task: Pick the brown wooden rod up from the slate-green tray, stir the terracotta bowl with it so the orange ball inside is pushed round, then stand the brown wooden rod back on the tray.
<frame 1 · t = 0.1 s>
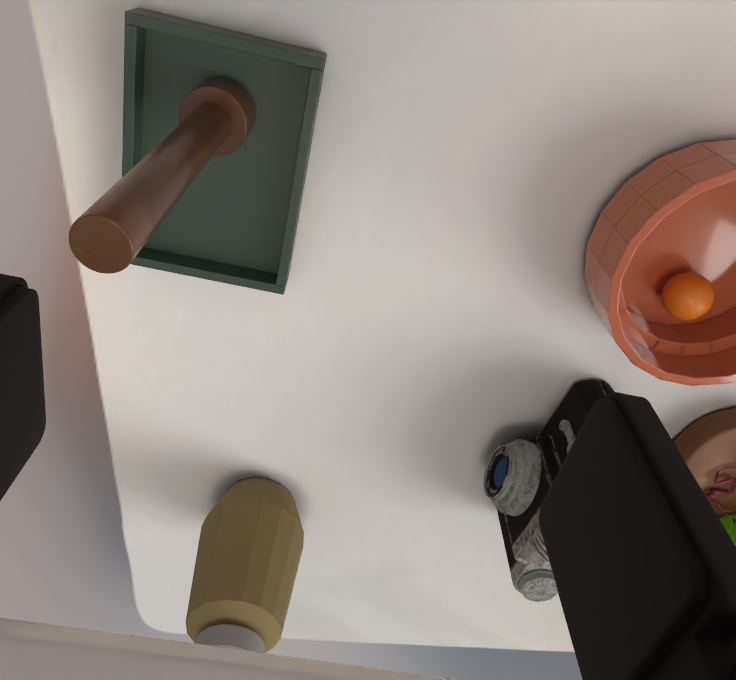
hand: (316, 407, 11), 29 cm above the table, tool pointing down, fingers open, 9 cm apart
plant: (724, 507, 53), on the table
spoon tray: (221, 158, 38), on the table
camera: (533, 443, 50), on the table
squeeze bottle: (260, 499, 53), on the table
mixing bowl: (692, 247, 41), on the table
ball: (687, 296, 40), point 2 cm above the table, touching mixing bowl
brown wooden rod: (224, 110, 36), point 1 cm above the table, touching spoon tray
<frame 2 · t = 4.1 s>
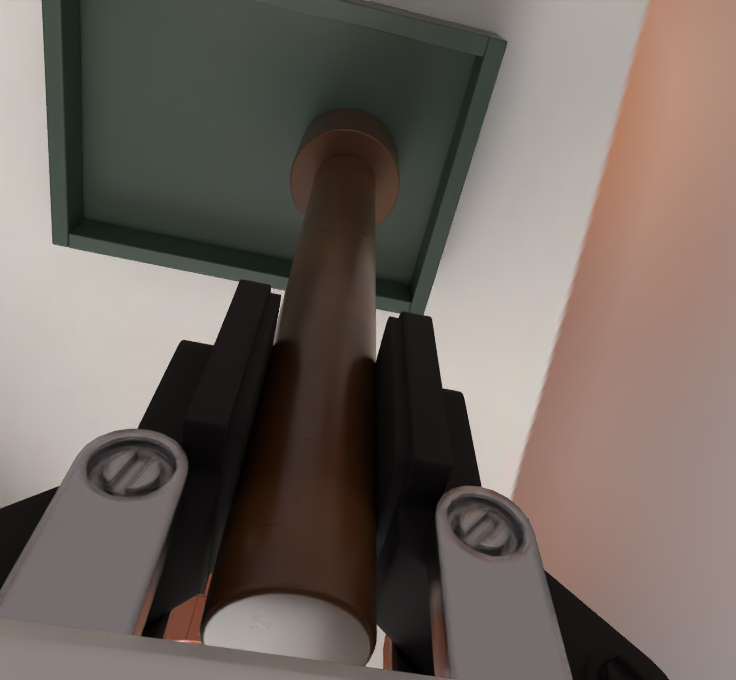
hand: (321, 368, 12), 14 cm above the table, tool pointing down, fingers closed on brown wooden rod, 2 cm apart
spoon tray: (268, 136, 23), on the table
mixing bowl: (218, 624, 39), on the table
brown wooden rod: (348, 158, 23), point 1 cm above the table, touching gripper, spoon tray
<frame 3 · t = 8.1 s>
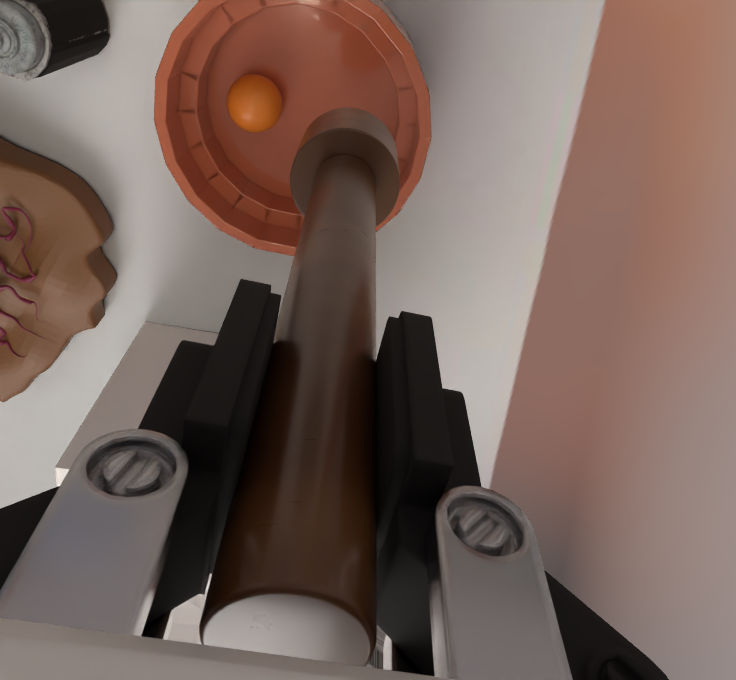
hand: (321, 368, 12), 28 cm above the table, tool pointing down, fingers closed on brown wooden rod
mixing bowl: (303, 105, 37), on the table
ball: (254, 103, 35), point 2 cm above the table, touching mixing bowl
brown wooden rod: (348, 158, 23), point 15 cm above the table, touching gripper
white figure sculpture: (244, 398, 48), on the table
spray bottle: (350, 613, 62), on the table
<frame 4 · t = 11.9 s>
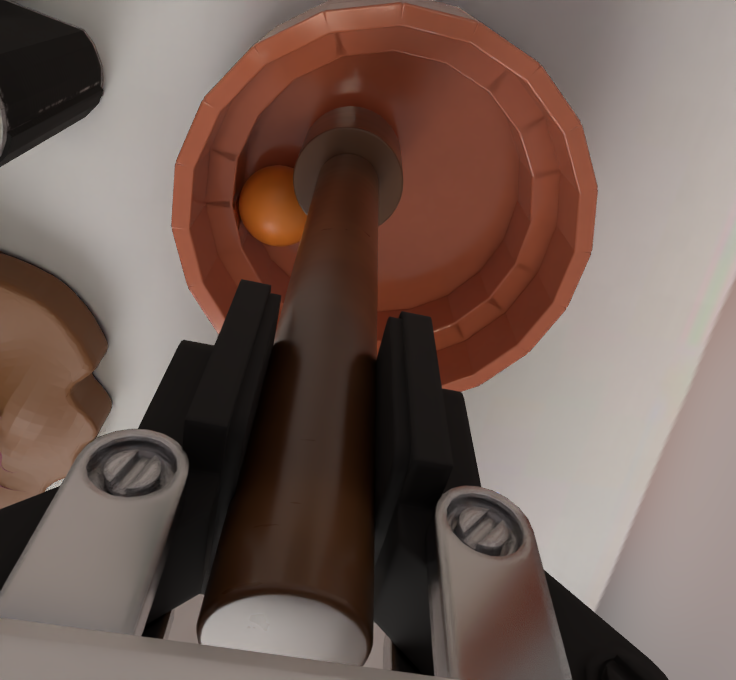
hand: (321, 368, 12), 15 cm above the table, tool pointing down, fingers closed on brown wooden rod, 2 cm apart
mixing bowl: (381, 187, 26), on the table
ball: (279, 206, 24), point 2 cm above the table, tilted 58°, touching mixing bowl, brown wooden rod
brown wooden rod: (351, 157, 23), point 2 cm above the table, touching ball, gripper
white figure sculpture: (278, 542, 37), on the table
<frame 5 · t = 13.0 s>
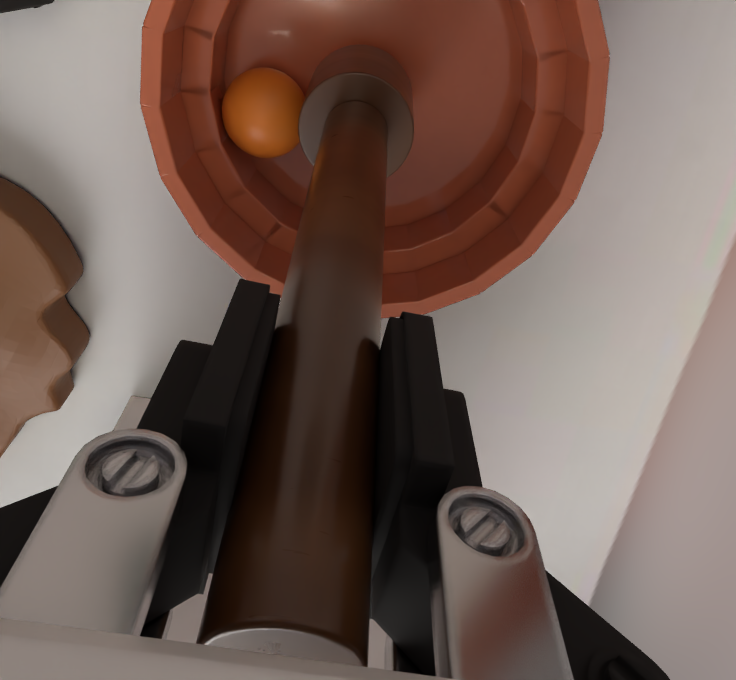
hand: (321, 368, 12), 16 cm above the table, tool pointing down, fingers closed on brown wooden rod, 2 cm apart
mixing bowl: (373, 85, 24), on the table
ball: (265, 113, 22), point 2 cm above the table, tilted 59°, touching mixing bowl
brown wooden rod: (360, 99, 22), point 2 cm above the table, tilted 8°, touching gripper
white figure sculpture: (269, 492, 35), on the table
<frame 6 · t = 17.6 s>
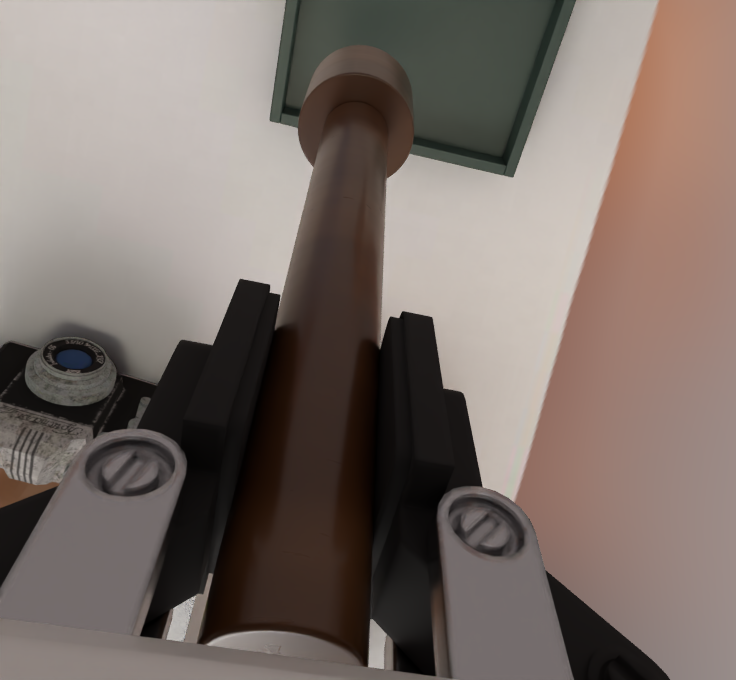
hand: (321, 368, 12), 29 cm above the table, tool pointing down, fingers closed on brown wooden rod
plant: (64, 526, 56), on the table
spoon tray: (415, 48, 35), on the table
camera: (100, 368, 47), on the table
brown wooden rod: (360, 100, 22), point 15 cm above the table, tilted 8°, touching gripper
white figure sculpture: (276, 614, 62), on the table
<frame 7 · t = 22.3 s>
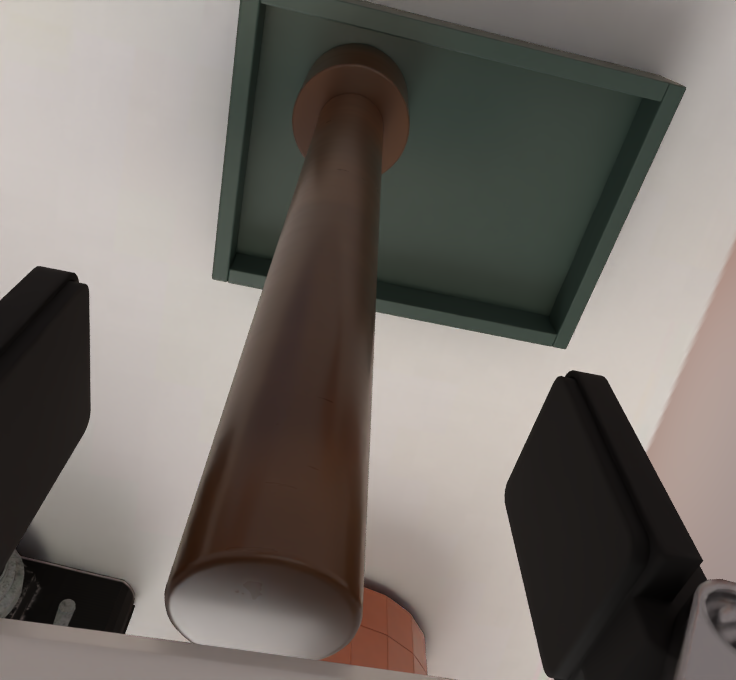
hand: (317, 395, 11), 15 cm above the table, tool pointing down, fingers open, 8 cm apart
spoon tray: (425, 173, 24), on the table
camera: (10, 552, 36), on the table
mixing bowl: (313, 641, 39), on the table
brown wooden rod: (355, 99, 22), point 1 cm above the table, touching spoon tray
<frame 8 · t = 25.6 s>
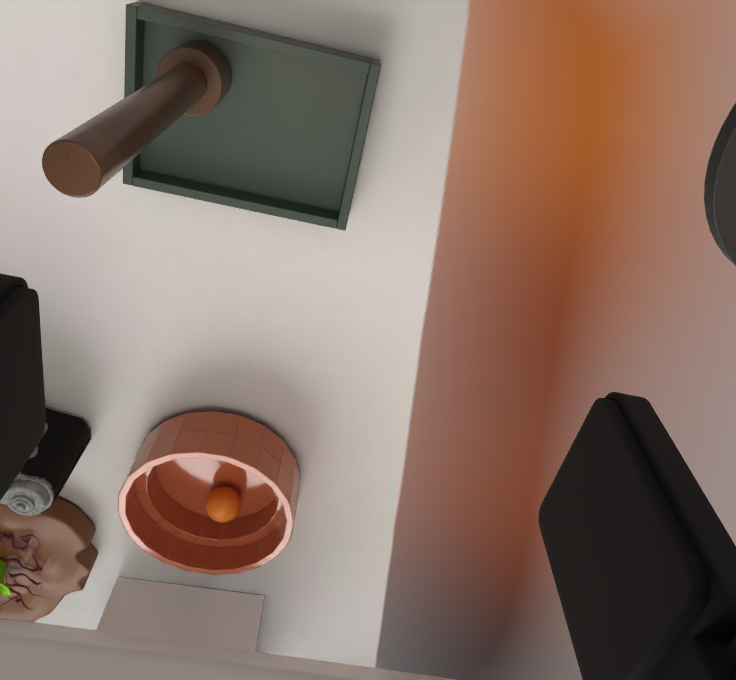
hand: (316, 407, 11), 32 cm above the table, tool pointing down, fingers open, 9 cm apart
spoon tray: (251, 119, 40), on the table
camera: (3, 395, 51), on the table
mixing bowl: (220, 469, 55), on the table
ball: (223, 504, 55), point 2 cm above the table, tilted 114°, touching mixing bowl
brown wooden rod: (201, 73, 38), point 1 cm above the table, touching spoon tray
white figure sculpture: (191, 617, 67), on the table
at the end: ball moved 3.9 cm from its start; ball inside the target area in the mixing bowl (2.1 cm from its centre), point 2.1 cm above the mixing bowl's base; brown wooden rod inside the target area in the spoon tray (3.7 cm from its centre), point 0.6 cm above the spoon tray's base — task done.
